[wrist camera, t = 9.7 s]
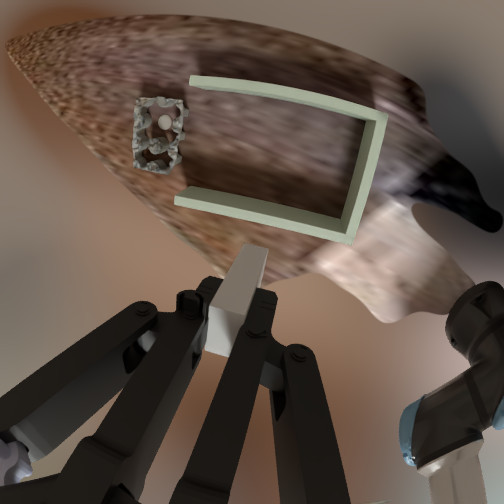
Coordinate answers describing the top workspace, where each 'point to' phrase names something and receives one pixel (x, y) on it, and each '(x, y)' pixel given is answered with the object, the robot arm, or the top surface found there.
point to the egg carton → (158, 143)
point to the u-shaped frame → (287, 215)
